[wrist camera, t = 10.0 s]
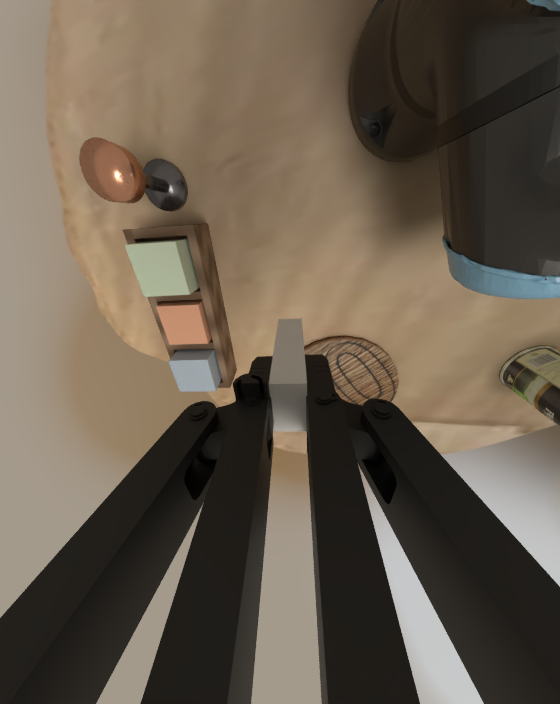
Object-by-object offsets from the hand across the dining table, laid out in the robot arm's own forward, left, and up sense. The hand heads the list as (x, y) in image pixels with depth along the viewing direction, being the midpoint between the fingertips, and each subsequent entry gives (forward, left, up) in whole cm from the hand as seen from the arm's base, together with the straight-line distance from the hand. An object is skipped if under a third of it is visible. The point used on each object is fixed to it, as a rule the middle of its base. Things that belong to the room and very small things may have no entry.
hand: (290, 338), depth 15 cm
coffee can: (+22, +47, -27) cm, 58 cm away
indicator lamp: (-12, -18, -26) cm, 34 cm away
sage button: (-2, -18, -21) cm, 28 cm away
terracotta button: (+7, -18, -23) cm, 30 cm away
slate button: (+16, -18, -21) cm, 32 cm away
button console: (+7, -18, -26) cm, 33 cm away
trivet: (+26, +9, -27) cm, 39 cm away
